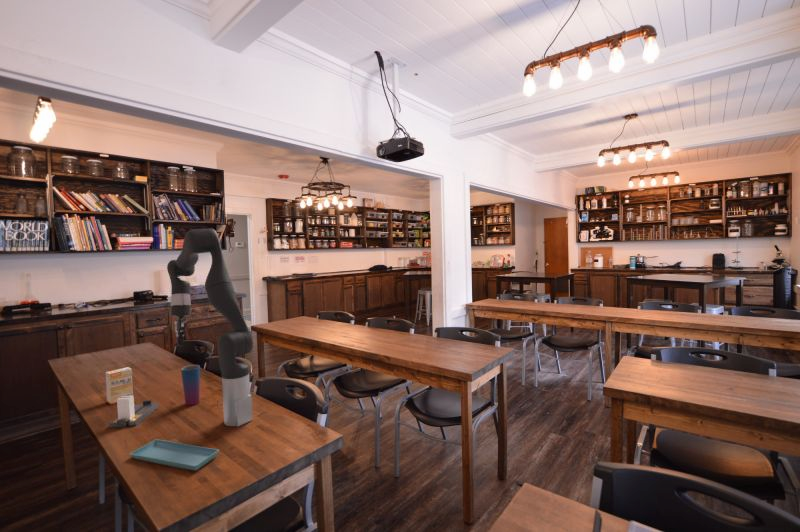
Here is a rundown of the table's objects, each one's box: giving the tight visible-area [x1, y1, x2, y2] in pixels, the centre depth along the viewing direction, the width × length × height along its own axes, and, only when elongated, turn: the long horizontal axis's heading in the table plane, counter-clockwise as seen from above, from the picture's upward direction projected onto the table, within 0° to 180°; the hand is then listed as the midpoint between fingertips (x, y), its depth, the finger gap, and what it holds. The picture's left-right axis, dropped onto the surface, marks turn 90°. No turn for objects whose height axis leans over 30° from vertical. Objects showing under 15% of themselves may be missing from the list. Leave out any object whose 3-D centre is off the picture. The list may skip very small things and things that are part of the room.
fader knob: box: [116, 395, 135, 420], centre depth 139 cm, size 3×4×8 cm
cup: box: [180, 364, 201, 406], centre depth 156 cm, size 7×7×15 cm
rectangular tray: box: [129, 438, 220, 472], centre depth 116 cm, size 26×9×2 cm, turn 72°
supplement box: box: [105, 366, 134, 405], centre depth 161 cm, size 8×5×13 cm, turn 143°
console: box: [109, 399, 160, 429], centre depth 145 cm, size 18×9×3 cm, turn 7°
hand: (180, 345), depth 160 cm, fingers closed
